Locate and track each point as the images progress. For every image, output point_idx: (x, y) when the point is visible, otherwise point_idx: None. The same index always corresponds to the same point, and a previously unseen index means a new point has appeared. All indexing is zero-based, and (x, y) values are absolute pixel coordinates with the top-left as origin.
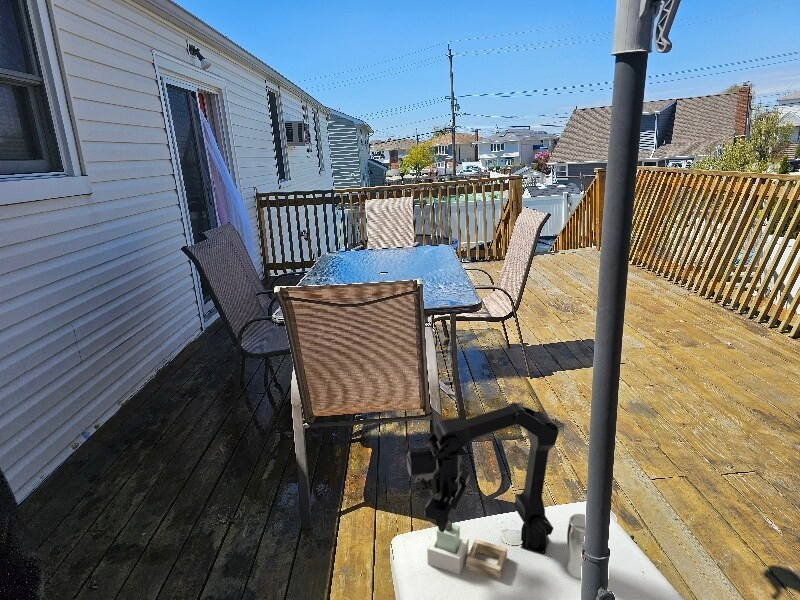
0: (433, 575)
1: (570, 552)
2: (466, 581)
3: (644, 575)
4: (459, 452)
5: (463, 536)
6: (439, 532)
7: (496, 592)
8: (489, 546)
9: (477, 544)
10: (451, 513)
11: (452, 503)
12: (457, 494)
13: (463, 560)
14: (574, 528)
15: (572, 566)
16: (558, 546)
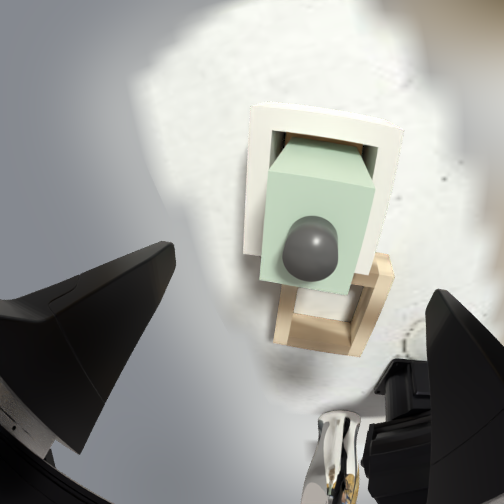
0: (225, 137)
1: (323, 454)
2: (241, 242)
3: None
4: None
5: (373, 255)
6: (267, 187)
7: (236, 312)
8: (363, 319)
9: (367, 286)
10: (50, 458)
11: (446, 330)
12: (453, 440)
13: None
14: None
15: (324, 430)
16: None
